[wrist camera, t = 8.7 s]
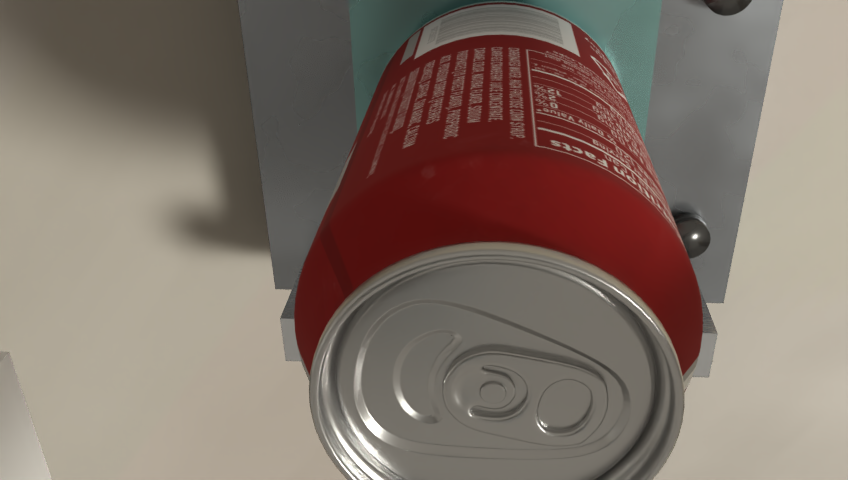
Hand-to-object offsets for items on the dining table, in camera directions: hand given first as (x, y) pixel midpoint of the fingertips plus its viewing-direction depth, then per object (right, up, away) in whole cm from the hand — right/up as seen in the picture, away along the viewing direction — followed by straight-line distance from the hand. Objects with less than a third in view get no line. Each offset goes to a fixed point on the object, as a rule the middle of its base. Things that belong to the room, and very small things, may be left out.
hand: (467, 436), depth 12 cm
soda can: (+1, +6, +11) cm, 13 cm away
